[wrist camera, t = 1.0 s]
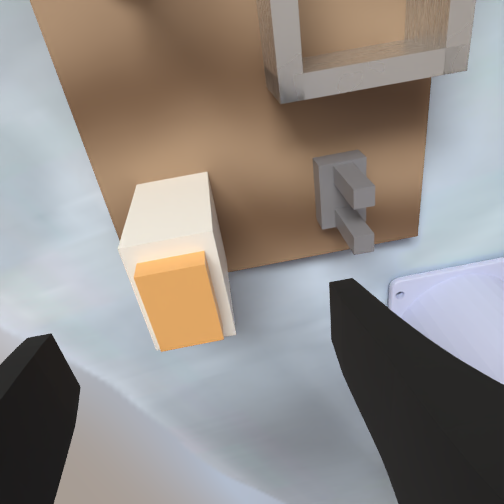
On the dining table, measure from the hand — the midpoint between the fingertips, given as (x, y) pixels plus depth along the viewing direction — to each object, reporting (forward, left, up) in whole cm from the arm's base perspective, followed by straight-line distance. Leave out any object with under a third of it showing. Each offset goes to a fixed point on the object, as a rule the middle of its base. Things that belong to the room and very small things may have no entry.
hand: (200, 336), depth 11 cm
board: (+4, -3, -9) cm, 11 cm away
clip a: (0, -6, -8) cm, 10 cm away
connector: (-1, +1, -8) cm, 8 cm away
